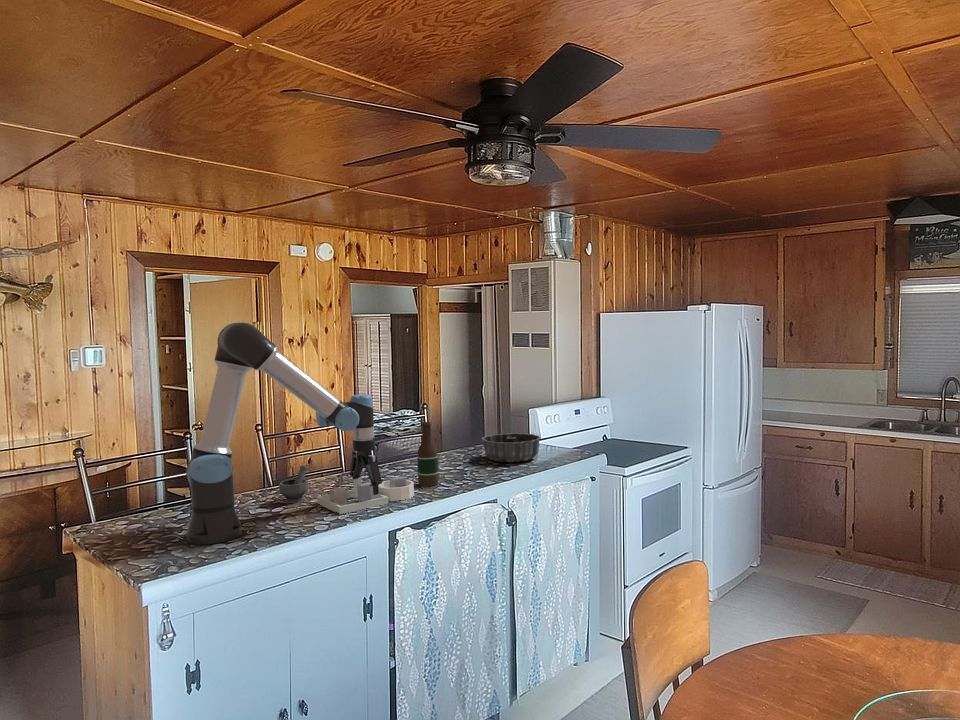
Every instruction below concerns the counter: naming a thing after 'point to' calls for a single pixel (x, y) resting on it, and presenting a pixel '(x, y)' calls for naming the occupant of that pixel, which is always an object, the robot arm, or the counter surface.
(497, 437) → the bundt pan
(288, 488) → the mortar and pestle
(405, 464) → the counter surface
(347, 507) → the square frame
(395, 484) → the grey rectangular block
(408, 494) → the bowl
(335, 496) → the taupe block
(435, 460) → the beer bottle
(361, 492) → the light grey cuboid
